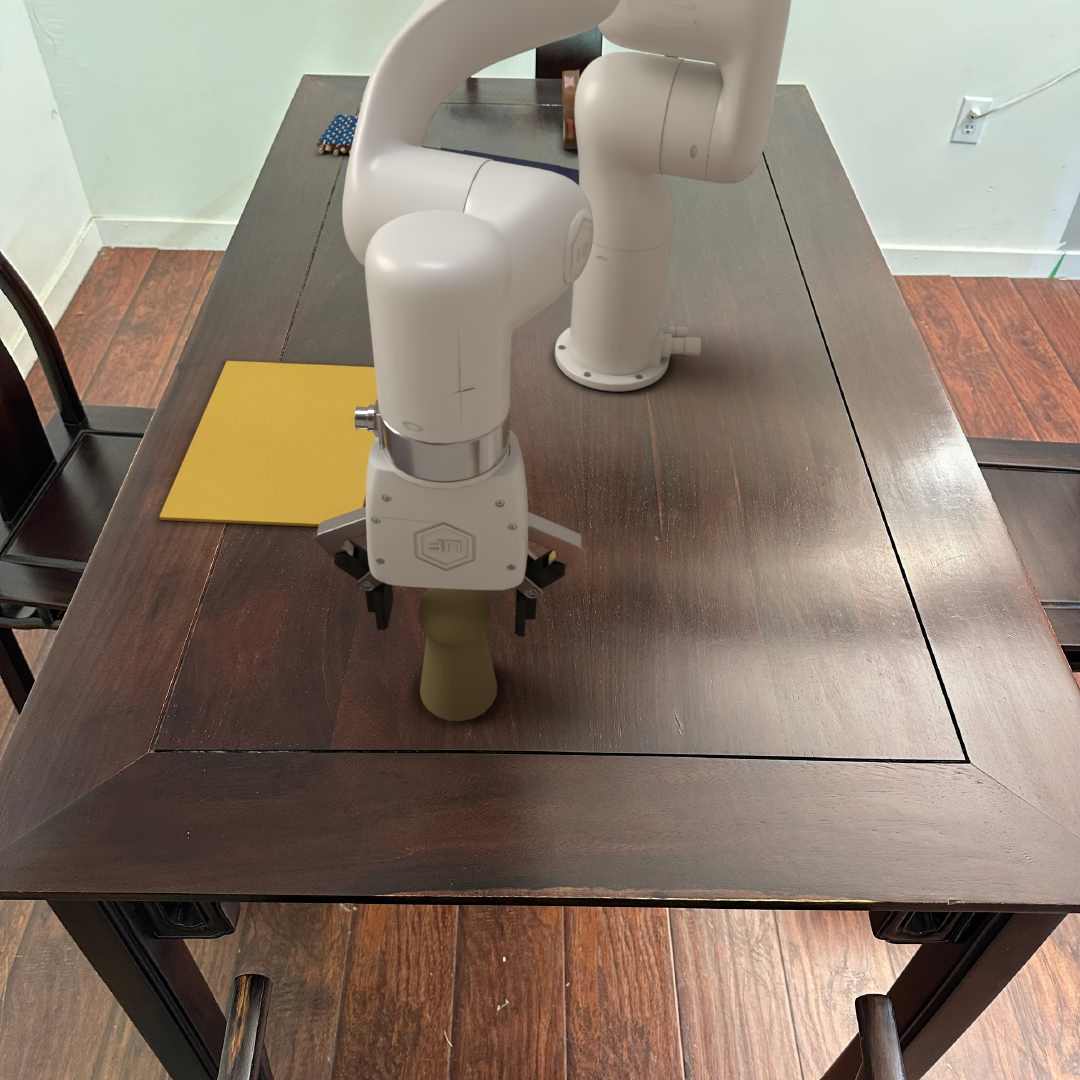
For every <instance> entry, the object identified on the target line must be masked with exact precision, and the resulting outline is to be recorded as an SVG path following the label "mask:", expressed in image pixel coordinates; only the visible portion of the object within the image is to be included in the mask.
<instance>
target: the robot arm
mask: <svg viewBox="0 0 1080 1080" xmlns="http://www.w3.org/2000/svg"><path fill="white" fill-rule="evenodd" d="M791 6H792V0H423V2H421V3H420V4H419V6H418V7H417V8H416V9H415V10H414V11H413V13H412V14H411V15H410V16H409V17H408V18H407V20H405V22H404V23H403V24H402V25H401V26H400V28H399V29H398V30H397V32H396V33H395V34H394V36H393V37H392V38H391V40H390V41H389V43H388V44H387V45H386V46H385V48H384V49H383V51H382V53H381V54H380V56H379V58H378V60H377V61H376V63H375V65H374V67H373V69H372V71H371V74H370V76H369V77H368V80H367V83H366V86H365V89H364V92H363V95H362V100H361V104H360V109H359V113H358V121H357V126H356V130H355V134H354V139H353V143H352V148H351V152H350V154H349V158H348V162H347V168H346V173H345V178H344V180H345V181H344V187H343V195H342V204H341V205H342V207H341V208H342V209H341V210H342V211H341V214H342V216H341V217H342V226H343V232H344V238H345V241H346V243H347V245H348V247H349V250H350V252H351V254H352V255H353V257H354V258H355V259H356V260H357V261H358V262H359V263H360V265H362V266H363V267H364V277H365V289H366V298H367V305H368V306H367V307H368V315H369V316H368V317H369V325H370V326H369V327H370V336H371V344H372V346H371V347H372V357H373V364H374V366H373V367H375V376H376V386H377V396H378V400H376V403H375V405H369V406H368V407H356V409H355V428H356V429H367V430H368V432H374V433H375V436H376V437H375V440H374V443H373V445H372V447H371V450H370V454H369V459H368V466H367V476H366V500H365V506H364V507H363V508H360V509H357V510H354V511H351V512H348V513H345V514H343V515H340V516H337V517H334V518H331V519H328V520H325V521H322V522H321V523H320V524H319V527H317V531H316V534H315V541H316V542H317V543H318V544H319V545H320V547H321V548H322V549H323V551H325V552H326V553H327V555H329V556H330V557H332V558H333V563H334V565H335V567H337V568H338V569H340V570H341V571H343V572H344V573H346V574H347V575H349V576H351V577H352V578H353V579H355V580H357V587H358V589H360V590H362V591H363V592H364V593H365V600H366V608H367V612H368V613H374V614H375V622H376V623H375V624H376V630H377V631H386V629H389V626H390V622H391V621H390V620H391V614H392V609H393V604H394V592H393V591H394V590H393V586H395V587H408V588H409V587H410V588H425V589H429V588H442V589H466V590H484V591H505V590H510V589H513V588H515V589H516V591H515V592H516V593H515V611H514V612H515V613H514V615H515V617H514V635H517V637H521V638H522V637H523V638H524V637H526V620H531V621H532V620H533V621H536V618H537V602H538V601H537V600H538V598H540V597H541V595H542V592H543V591H542V590H543V589H545V588H547V587H548V586H550V585H552V584H554V583H556V582H557V581H558V580H560V579H562V578H563V577H564V576H565V575H566V570H567V569H568V568H569V567H571V566H572V565H573V564H574V563H575V562H576V561H577V559H579V557H581V554H582V552H583V536H582V534H580V533H579V532H577V531H575V530H572V529H570V528H567V527H565V526H563V525H561V524H558V523H556V522H553V521H551V520H549V519H546V518H544V517H542V516H539V515H537V514H535V513H533V512H531V511H529V499H528V498H529V497H528V486H527V477H526V470H525V463H524V459H523V454H522V450H521V446H520V442H519V439H518V437H517V436H516V434H515V432H514V431H513V430H511V429H510V428H511V427H510V426H511V423H510V421H511V365H512V364H511V359H512V357H511V356H512V336H513V333H514V331H516V330H517V329H518V328H519V327H520V326H522V325H523V324H524V323H526V322H527V321H529V320H530V319H531V318H533V317H534V316H536V315H537V314H539V313H540V312H541V311H543V310H544V309H546V308H547V307H548V306H550V305H551V304H553V303H554V302H555V301H556V300H557V299H559V298H560V297H561V295H563V294H564V293H565V291H567V290H568V288H569V287H570V286H571V285H572V299H571V315H570V326H569V327H568V328H566V329H565V330H564V331H563V332H562V333H560V335H559V336H558V337H557V339H556V341H555V346H554V359H555V362H556V365H557V366H558V368H559V369H560V370H561V372H562V373H563V374H564V375H565V376H567V377H568V378H569V379H571V380H572V381H574V382H576V383H578V384H580V385H582V386H585V387H588V388H589V389H590V388H591V389H595V390H598V391H605V392H606V391H607V392H628V391H635V390H639V389H643V388H646V387H649V386H650V385H653V384H654V383H656V382H657V381H659V380H660V379H661V378H662V377H663V376H664V375H665V374H666V371H667V369H668V367H669V363H670V357H671V355H682V356H698V357H699V356H700V355H701V351H702V338H701V337H695V336H694V337H693V336H692V337H691V336H689V334H688V333H689V327H688V326H681V325H680V326H677V325H676V326H667V323H663V319H662V317H663V316H662V311H663V304H664V297H665V292H666V291H665V290H666V283H667V275H668V268H669V261H670V255H671V249H672V248H671V247H672V240H673V234H674V228H675V221H676V220H675V219H676V217H675V216H676V213H675V205H674V201H673V196H672V194H671V190H670V188H669V186H668V183H667V182H666V180H665V177H664V176H663V175H666V176H667V175H668V176H674V177H680V178H685V179H690V180H697V181H703V182H708V183H716V184H725V185H726V184H728V185H731V184H736V183H740V182H743V181H744V180H746V179H748V178H750V176H751V175H752V174H753V173H754V172H755V170H756V168H757V167H758V165H759V163H760V161H761V158H762V155H763V153H764V151H765V147H766V143H767V139H768V134H769V129H770V124H771V120H772V113H773V107H774V102H775V97H776V91H777V85H778V80H779V75H780V69H781V63H782V58H783V53H784V47H785V42H786V38H787V37H786V36H787V30H788V24H789V19H790V14H791ZM594 28H598V30H599V33H600V34H601V35H602V36H603V38H604V39H606V40H607V41H608V42H610V43H611V44H614V45H615V46H617V47H621V48H624V49H628V50H631V51H621V52H620V51H618V52H617V51H616V52H615V51H614V52H609V53H606V54H603V55H601V56H598V57H597V58H595V59H593V60H591V62H590V63H589V64H588V65H587V66H586V67H585V68H584V69H583V72H581V75H580V76H579V82H578V85H577V89H576V94H575V105H574V115H575V128H576V138H577V147H578V149H577V157H578V170H579V185H577V184H576V183H575V182H574V181H572V180H571V179H569V178H567V177H565V176H563V175H560V174H557V173H555V172H552V171H547V170H543V169H538V168H533V167H527V166H521V165H515V164H509V163H504V162H498V161H494V160H493V159H487V158H481V157H476V156H470V155H464V154H459V153H453V152H447V151H442V150H436V149H430V148H424V147H422V146H424V143H425V142H424V141H425V138H426V136H427V133H428V129H429V127H430V125H431V122H432V121H433V119H434V117H435V115H436V113H437V111H438V110H439V108H440V107H441V106H442V104H443V103H444V102H445V101H446V99H447V98H449V96H450V95H451V94H452V93H453V92H454V91H455V90H456V89H457V88H458V87H459V86H460V85H461V84H463V83H464V82H466V81H468V79H469V78H472V76H474V75H476V74H478V73H480V72H481V71H482V70H484V69H486V68H489V67H492V65H495V64H497V63H499V62H502V61H505V60H507V59H510V58H513V57H515V56H518V55H521V54H523V53H526V52H529V51H532V50H535V49H538V48H541V47H543V46H546V45H550V44H553V43H556V42H559V41H562V40H565V39H568V38H571V37H575V36H577V35H580V34H582V33H585V32H587V31H590V30H592V29H594ZM635 51H636V52H635ZM364 535H366V549H367V550H366V549H365V548H364V547H362V546H361V545H359V544H358V543H357V542H355V541H353V540H352V539H355V538H358V537H362V536H364ZM529 542H532V543H534V544H536V545H539V546H542V547H544V548H546V549H548V550H549V551H547V552H545V553H544V554H542V555H541V556H540V557H538V556H537V555H536V554H535V553H534V552H532V550H530V548H529Z"/></svg>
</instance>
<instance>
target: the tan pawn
mask: <svg viewBox="0 0 1080 1080" xmlns="http://www.w3.org/2000/svg"><path fill="white" fill-rule="evenodd" d="M417 613H418V615H417V616H418V620H419V624H420V628H421V630H422V631H423V633H424V634H425V635H426V637H425V645H424V646H425V647H424V653H423V655H424V657H423V663H422V670H421V671H422V672H421V679H420V686H419V687H420V688H419V695H420V698H421V702H422V703H423V705H424V707H425V708H426V709H427V710H428V711H429V712H430V713H432V714H433V715H434V716H436V717H437V718H440V719H443V720H446V721H449V722H451V721H452V722H464V721H468V720H473V719H475V718H477V717H479V716H481V715H484V713H486V712H487V710H488V709H490V708H491V706H492V705H493V704H494V702H495V699H496V697H497V693H498V682H497V678H496V673H495V669H494V664H493V660H492V656H491V651H490V647H489V646H490V645H489V641H488V637H487V633H486V632H487V631H488V629H489V627H490V624H491V621H492V613H493V612H492V605H491V601H490V599H489V595H488V594H487V593H486V591H485V590H466V589H442V588H427V590H425V592H424V594H423V595H422V597H421V598H420V602H419V606H418V612H417Z"/></svg>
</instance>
